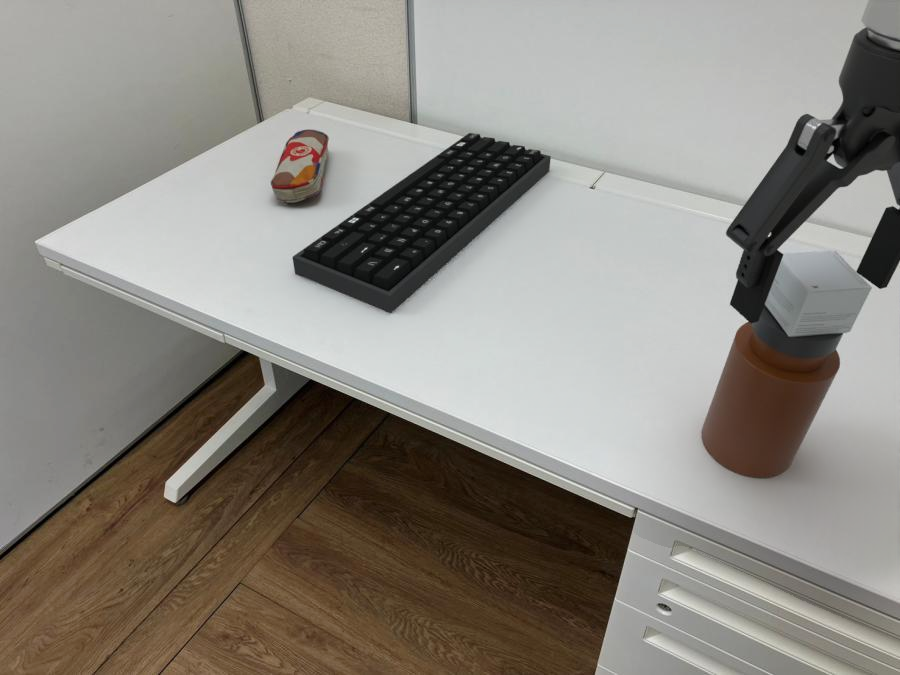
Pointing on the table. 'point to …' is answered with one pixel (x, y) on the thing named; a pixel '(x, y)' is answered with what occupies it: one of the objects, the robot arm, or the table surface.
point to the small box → (816, 294)
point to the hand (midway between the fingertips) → (809, 296)
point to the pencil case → (301, 166)
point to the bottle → (768, 396)
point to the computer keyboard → (421, 221)
